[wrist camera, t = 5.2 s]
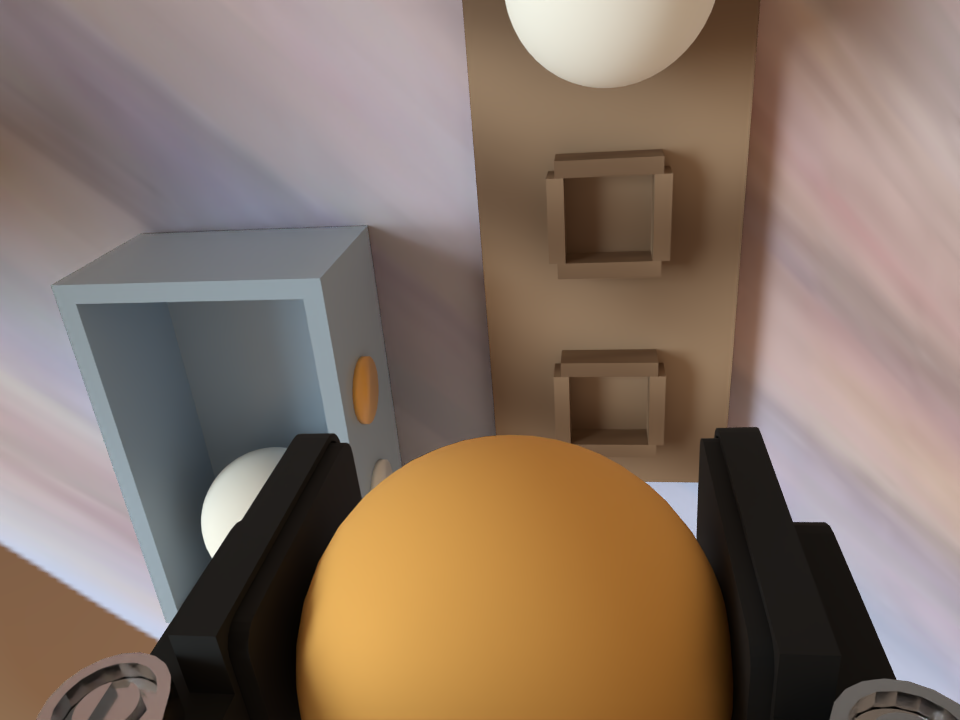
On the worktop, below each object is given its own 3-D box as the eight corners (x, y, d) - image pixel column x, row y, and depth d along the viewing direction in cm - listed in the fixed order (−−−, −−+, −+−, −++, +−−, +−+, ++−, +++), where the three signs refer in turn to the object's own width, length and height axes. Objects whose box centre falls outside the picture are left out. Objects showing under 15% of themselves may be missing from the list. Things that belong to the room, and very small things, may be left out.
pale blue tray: (140, 233, 27) (50, 285, 22) (373, 225, 26) (326, 278, 21) (224, 534, 33) (166, 622, 28) (417, 539, 31) (388, 632, 27)
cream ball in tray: (223, 421, 29) (158, 500, 25) (349, 421, 29) (305, 503, 24) (250, 525, 32) (194, 616, 27) (368, 528, 31) (330, 622, 26)
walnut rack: (454, -160, 20) (442, -172, 19) (769, -196, 19) (784, -211, 18) (501, 467, 29) (496, 495, 28) (719, 469, 28) (727, 499, 26)
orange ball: (334, 367, 11) (151, 653, 6) (710, 357, 10) (807, 676, 5) (389, 634, 13) (281, 986, 8) (699, 643, 12) (762, 1036, 8)
